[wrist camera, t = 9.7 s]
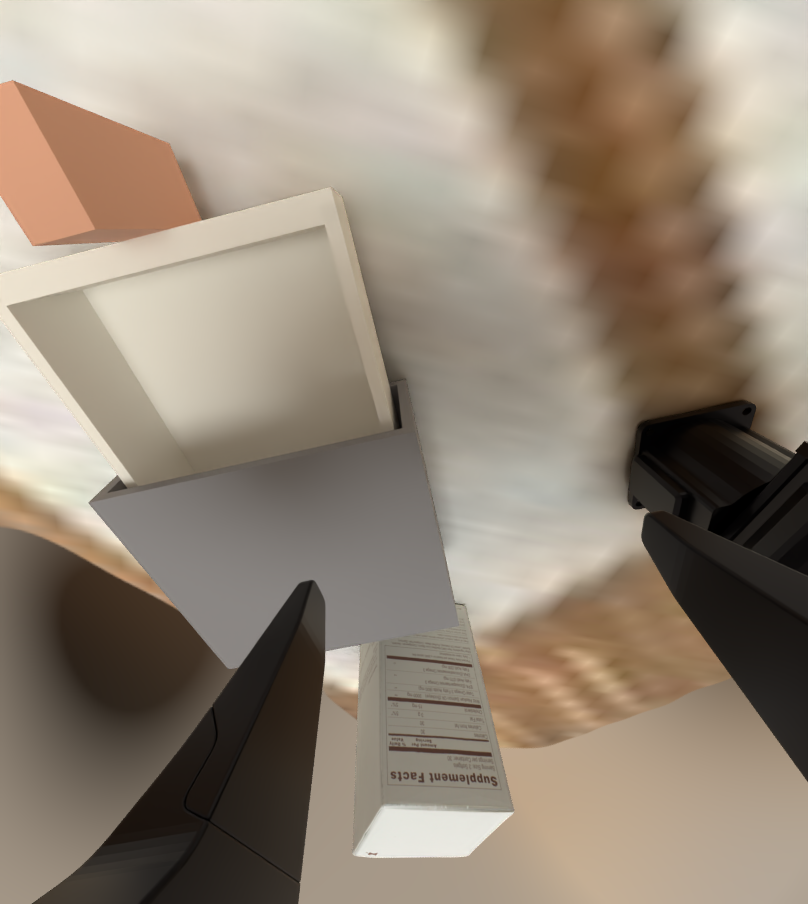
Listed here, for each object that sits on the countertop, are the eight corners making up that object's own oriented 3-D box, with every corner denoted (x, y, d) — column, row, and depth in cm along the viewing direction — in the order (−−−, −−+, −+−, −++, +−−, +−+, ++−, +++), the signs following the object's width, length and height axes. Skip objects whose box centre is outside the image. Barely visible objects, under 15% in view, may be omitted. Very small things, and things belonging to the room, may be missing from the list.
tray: (321, 113, 14) (267, 5, 7) (405, 451, 22) (418, 553, 15) (20, 196, 15) (-289, 169, 8) (205, 494, 22) (130, 610, 16)
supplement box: (439, 656, 33) (468, 860, 23) (357, 646, 32) (347, 860, 21) (468, 603, 30) (520, 815, 19) (378, 590, 29) (379, 812, 18)
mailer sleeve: (405, 378, 20) (415, 431, 15) (443, 549, 27) (459, 626, 21) (160, 434, 21) (88, 502, 16) (256, 586, 27) (228, 669, 22)
